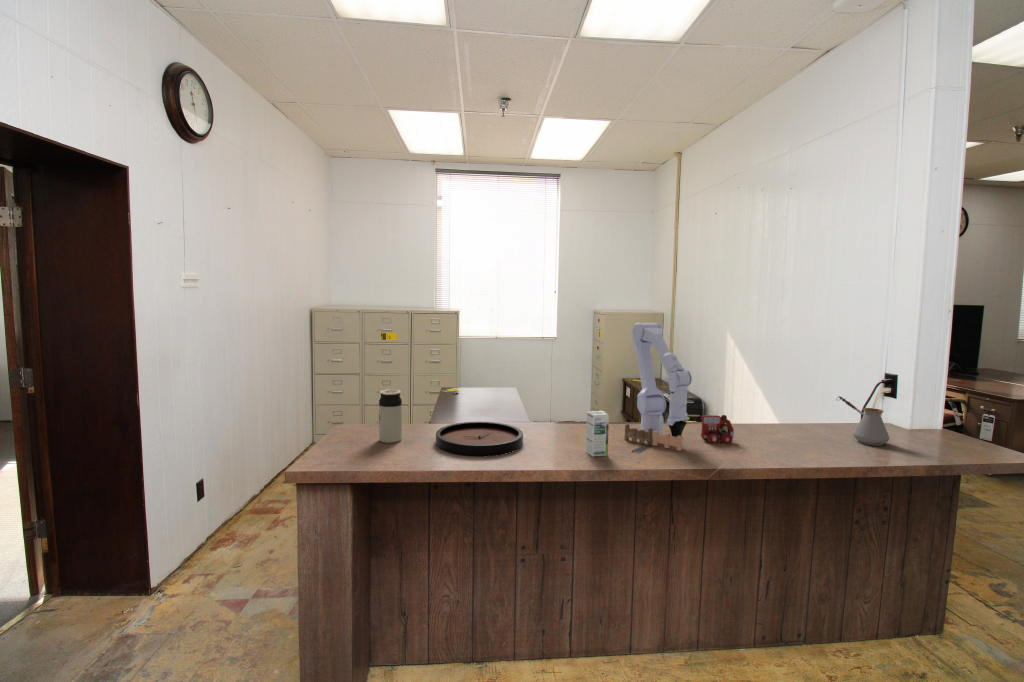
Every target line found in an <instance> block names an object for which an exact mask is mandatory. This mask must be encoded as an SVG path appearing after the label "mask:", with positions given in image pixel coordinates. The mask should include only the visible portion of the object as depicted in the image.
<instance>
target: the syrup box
mask: <svg viewBox="0 0 1024 682" xmlns="http://www.w3.org/2000/svg"><path fill="white" fill-rule="evenodd" d="M609 426H610V414H609V413H608V412H606V411H604V410H598V411H597V410H593V411H587V412H586V428H585V429H586V432H585V433H586V437H585V443H586V444H585V452H586V453H587V454H588V455H589V454H590V455H589V456H591V457H592V458H595V457H605V456H606V457H607V456H608V455H609V429H610V428H609Z"/></svg>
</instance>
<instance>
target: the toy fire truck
mask: <svg viewBox="0 0 1024 682" xmlns="http://www.w3.org/2000/svg"><path fill="white" fill-rule="evenodd" d="M700 421H701V433H700V437H701V439H702V440H704V441H707V440H708V441H707V442H708V443H709V444H711V445H712V444H715V445H716V444H718V443H719V442H721V443H722V444H724V445H728V444H729V445H731V444H732V442H733V440H734V439H733V438H734V431H735V430H734V427H733V425H732V423H731V421H730V420H729V419H728V417H727V415H725V414H722V415H721V416H720V415H718V414H717V415H715V414H714V415H711V414H708V415H705V414H704V415H703V414H702V415H701V418H700ZM719 440H721V441H719Z"/></svg>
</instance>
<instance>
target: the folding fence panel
mask: <svg viewBox="0 0 1024 682" xmlns="http://www.w3.org/2000/svg"><path fill="white" fill-rule="evenodd" d="M664 434H665V435H664ZM664 434H659V431H653V439H652V446H656V447H657V446H658V445H659V444H661V445H663V446H664V449H670V447H675V450H676V451H678V452H681V451H682V450H683V449H682V448H683V435H681V436H680V435H678V436H677V437H674V436H672V435H671V433H668V432H666V433H664Z"/></svg>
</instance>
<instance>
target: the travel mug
mask: <svg viewBox="0 0 1024 682" xmlns="http://www.w3.org/2000/svg"><path fill="white" fill-rule="evenodd" d="M401 393H402V391H401V390H400V389H383V390H380V391H379V394H380V398H379V400H378V432H379V435H378V440H379V441H380V442H381V443H386V444H394V443H397V442H401V440H402V439H403V434H402V433H403V425H402V423H403V421H402V420H403V419H402V418H403V417H402V416H403V411H402V410H403V404H402V402H403V401H402V398H401Z"/></svg>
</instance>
